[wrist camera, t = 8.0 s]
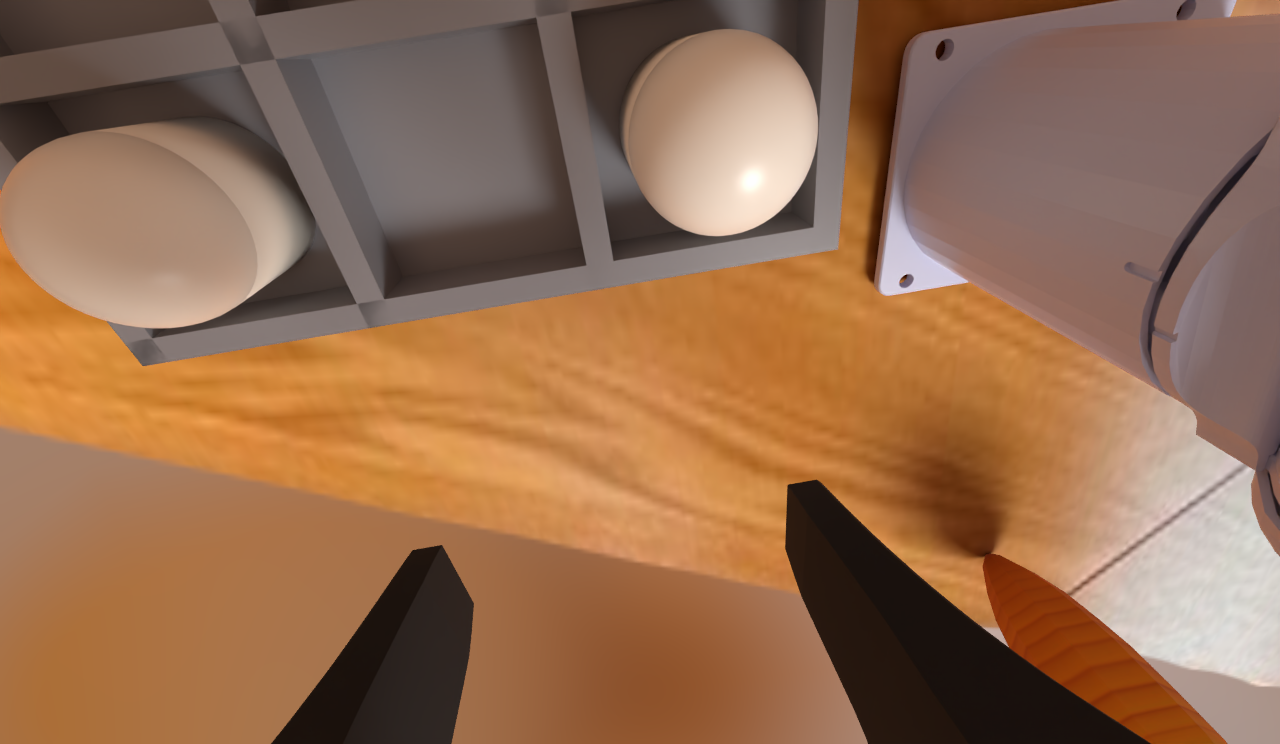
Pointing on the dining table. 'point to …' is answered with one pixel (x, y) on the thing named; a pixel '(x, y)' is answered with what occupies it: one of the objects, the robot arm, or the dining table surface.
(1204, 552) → the dining table surface
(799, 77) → the egg carton
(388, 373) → the dining table surface
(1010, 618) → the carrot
